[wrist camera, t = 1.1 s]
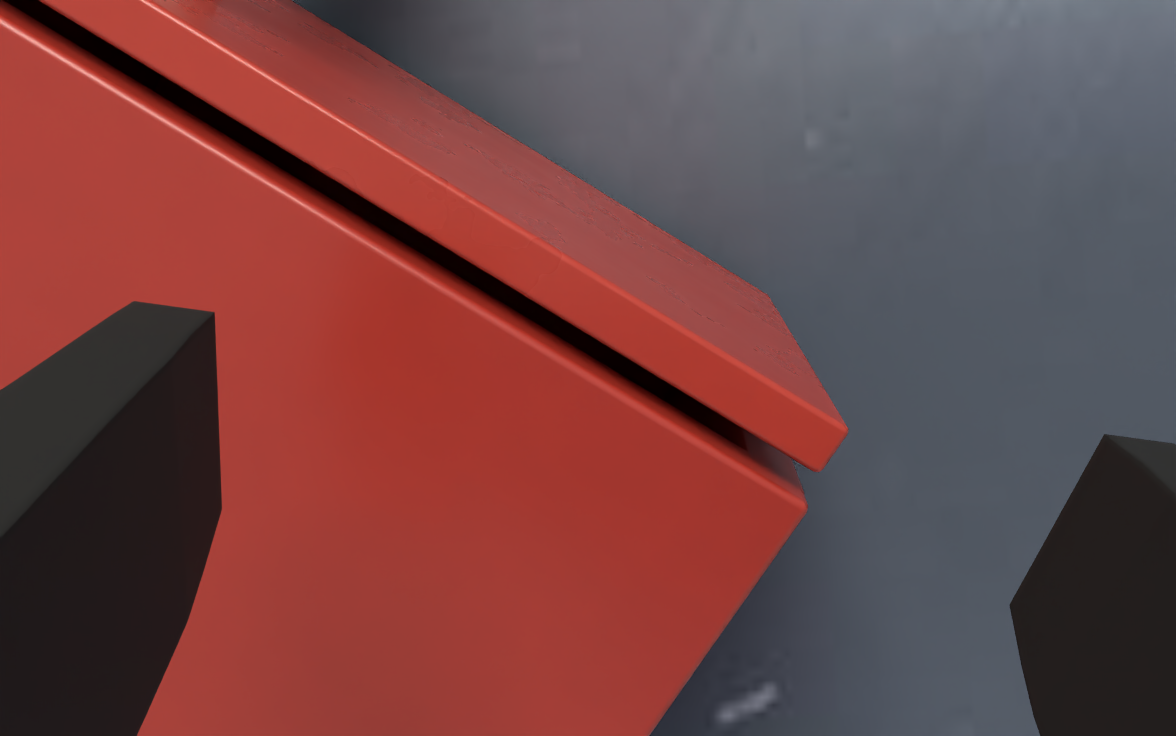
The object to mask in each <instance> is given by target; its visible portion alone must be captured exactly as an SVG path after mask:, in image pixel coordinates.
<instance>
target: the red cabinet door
mask: <svg viewBox="0 0 1176 736" xmlns="http://www.w3.org/2000/svg"><path fill="white" fill-rule="evenodd" d="M39 1H40V2H42V3H43V4H45V5H47V6H48V7H50V8H52V9H53V10H55V11H57V12H58V13H60V14H62V15H63V16H65V17H66V18H68V19H70V20H71V21H73V22H75V23H76V24H78V25H80V26H81V27H83V28H85V29H86V30H88V31H90V32H91V33H93V34H94V35H96V36H98V37H99V38H101V39H103V40H104V41H106V42H108V43H109V44H111V45H113V46H114V47H116V48H117V49H119V50H121V51H122V52H124V53H126V54H127V55H129V56H131V57H132V58H134V59H136V60H137V61H139V62H141V63H142V64H144V65H145V66H147V67H149V68H150V69H152V70H154V71H155V72H157V73H159V74H160V75H162V76H164V77H165V78H167V79H168V80H170V81H172V82H173V83H175V84H177V85H178V86H180V87H182V88H183V89H185V90H187V91H188V92H190V93H192V94H193V95H195V96H196V97H198V98H200V99H201V100H203V101H205V102H206V103H208V104H210V105H211V106H213V107H215V108H216V109H218V110H219V111H221V112H223V113H224V114H226V115H228V116H229V117H231V118H233V119H234V120H236V121H238V122H239V123H241V124H243V125H244V126H246V127H247V128H249V129H251V130H252V131H254V132H256V133H257V134H259V135H261V136H262V137H264V138H266V139H267V140H269V141H271V142H272V143H274V144H275V145H277V146H279V147H280V148H282V149H284V150H285V151H287V152H289V153H290V154H292V155H294V156H295V157H297V158H298V159H300V160H302V161H303V162H305V163H307V164H308V165H310V166H312V167H313V168H315V169H317V170H318V171H320V172H322V173H323V174H325V175H326V176H328V177H330V178H331V179H333V180H335V181H336V182H338V183H340V184H341V185H343V186H345V187H346V188H348V189H349V190H351V191H353V192H354V193H356V194H358V195H359V196H361V197H363V198H364V199H366V200H368V201H369V202H371V203H373V204H374V205H376V206H377V207H379V208H381V209H382V210H384V211H386V212H387V213H389V214H391V215H392V216H394V217H396V218H397V219H399V220H400V221H402V222H404V223H405V224H407V225H409V226H410V227H412V228H414V229H415V230H417V231H419V232H420V233H422V234H424V235H425V236H427V237H428V238H430V239H432V240H433V241H435V242H437V243H438V244H440V245H442V246H443V247H445V248H447V249H448V250H450V251H451V252H453V253H455V254H456V255H458V256H460V257H461V258H463V259H465V260H466V261H468V262H470V263H471V264H473V265H475V266H476V267H478V268H479V269H481V270H483V271H484V272H486V273H488V274H489V275H491V276H493V277H494V278H496V279H498V280H499V281H501V282H502V283H504V284H506V285H507V286H509V287H511V288H512V289H514V290H516V291H517V292H519V293H521V294H522V295H524V296H526V297H527V298H529V299H530V300H532V301H534V302H535V303H537V304H539V305H540V306H542V307H544V308H545V309H547V310H549V311H550V312H552V313H554V314H555V315H557V316H558V317H560V318H562V319H563V320H565V321H567V322H568V323H570V324H572V325H573V326H575V327H577V328H578V329H580V330H581V331H583V332H585V333H586V334H588V335H590V336H591V337H593V338H595V339H596V340H598V341H600V342H601V343H603V344H605V345H606V346H608V347H609V348H611V349H613V350H614V351H616V352H618V353H619V354H621V355H623V356H624V357H626V358H628V359H629V360H631V361H632V362H634V363H636V364H637V365H639V366H641V367H642V368H644V369H646V370H647V371H649V372H651V373H652V374H654V375H656V376H657V377H659V378H660V379H662V380H664V381H665V382H667V383H669V384H670V385H672V386H674V387H675V388H677V389H679V390H680V391H682V392H683V393H685V394H687V395H688V396H690V397H692V398H693V399H695V400H697V401H698V402H700V403H702V404H703V405H705V406H707V407H708V408H710V409H711V410H713V411H715V412H716V413H718V414H720V415H721V416H723V417H725V418H726V419H728V420H730V421H731V422H733V423H734V424H736V425H738V426H739V427H741V428H743V429H744V430H746V431H748V432H749V433H751V434H753V435H754V436H756V437H758V438H759V439H761V440H762V441H764V442H766V443H767V444H769V445H771V446H772V447H774V448H776V449H777V450H779V451H781V452H782V453H784V454H785V455H787V456H789V457H790V458H792V459H794V460H795V461H797V462H799V463H800V464H802V465H804V466H805V467H807V468H809V469H810V470H812V471H815V472H820V471H821V470H823V468H824V467H825V466H826V464H827V463H828V461H829V460H830V458H831V457H832V456H833V454H834V453H835V451H836V450H837V448H838V447H839V446H840V444H841V443H842V441H843V440H844V438H845V437H846V436H847V434H848V428H847V426H846V424H845V423H844V421H843V419H842V417H841V416H840V414H839V412H838V411H837V409H836V407H835V406H834V404H833V402H832V401H831V399H830V397H829V396H828V394H827V392H826V391H825V389H824V387H823V386H822V384H821V382H820V381H819V379H818V377H817V376H816V374H815V372H814V371H813V369H812V367H811V366H810V364H809V362H808V361H807V359H806V357H805V356H804V354H803V352H802V351H801V349H800V347H799V346H798V344H797V342H796V341H795V339H794V337H793V336H792V334H791V332H790V331H789V329H788V327H787V326H786V324H785V322H784V321H783V319H782V317H781V316H780V314H779V312H778V311H777V309H776V307H775V306H774V304H773V302H772V301H771V299H770V297H769V296H768V295H767V294H765V293H764V292H762V291H760V290H759V289H757V288H756V287H754V286H752V285H751V284H749V283H748V282H746V281H744V280H743V279H741V278H739V277H738V276H736V275H735V274H733V273H731V272H730V271H728V270H726V269H725V268H723V267H722V266H720V265H718V264H717V263H715V262H714V261H712V260H710V259H709V258H707V257H705V256H704V255H702V254H701V253H699V252H697V251H696V250H694V249H692V248H691V247H689V246H688V245H686V244H684V243H683V242H681V241H680V240H678V239H676V238H675V237H673V236H671V235H670V234H668V233H667V232H665V231H663V230H662V229H660V228H659V227H657V226H655V225H654V224H652V223H650V222H649V221H647V220H646V219H644V218H642V217H641V216H639V215H637V214H636V213H634V212H633V211H631V210H629V209H628V208H626V207H625V206H623V205H621V204H620V203H618V202H616V201H615V200H613V199H612V198H610V197H608V196H607V195H605V194H603V193H602V192H600V191H599V190H597V189H595V188H594V187H592V186H591V185H589V184H587V183H586V182H584V181H582V180H581V179H579V178H578V177H576V176H574V175H573V174H571V173H570V172H568V171H566V170H565V169H563V168H561V167H560V166H558V165H557V164H555V163H553V162H552V161H550V160H548V159H547V158H545V157H544V156H542V155H540V154H539V153H537V152H536V151H534V150H532V149H531V148H529V147H527V146H526V145H524V144H523V143H521V142H519V141H518V140H516V139H514V138H513V137H511V136H510V135H508V134H506V133H505V132H503V131H502V130H500V129H498V128H497V127H495V126H493V125H492V124H490V123H489V122H487V121H485V120H484V119H482V118H481V117H479V116H477V115H476V114H474V113H472V112H471V111H469V110H468V109H466V108H464V107H463V106H461V105H459V104H458V103H456V102H455V101H453V100H451V99H450V98H448V97H447V96H445V95H443V94H442V93H440V92H438V91H437V90H435V89H434V88H432V87H430V86H429V85H427V84H425V83H424V82H422V81H421V80H419V79H417V78H416V77H414V76H413V75H411V74H409V73H408V72H406V71H404V70H403V69H401V68H400V67H398V66H396V65H395V64H393V63H392V62H390V61H388V60H387V59H385V58H383V57H382V56H380V55H379V54H377V53H375V52H374V51H372V50H370V49H369V48H367V47H366V46H364V45H362V44H361V43H359V42H358V41H356V40H354V39H353V38H351V37H349V36H348V35H346V34H345V33H343V32H341V31H340V30H338V29H336V28H335V27H333V26H332V25H330V24H328V23H327V22H325V21H324V20H322V19H320V18H319V17H317V16H315V15H314V14H312V13H311V12H309V11H307V10H306V9H304V8H303V7H301V6H299V5H298V4H296V3H294V2H293V1H291V0H39Z"/></svg>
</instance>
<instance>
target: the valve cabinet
mask: <svg viewBox="0 0 1176 736" xmlns="http://www.w3.org/2000/svg"><path fill="white" fill-rule="evenodd" d="M133 301H138V302H145V303H153V304H160V305H167V306H175V307H182V308H189V309H196V310H204V311H211V312H215V332H216V359H217V385H218V412H219V439H220V466H221V493H222V511H221V514H220V518H219V521H218V525H217V528H216V531H215V535H214V538H213V542H212V545H211V548H210V552H209V555H208V558H207V562H206V565H205V569H204V572H203V575H202V578H201V581H200V584H199V588H198V591H197V594H196V597H195V600H194V603H193V606H192V610H191V613H190V616H189V619H188V622H187V624H186V627H185V629H184V631H183V633H182V636H181V638H180V640H179V643H178V645H177V647H176V649H175V652H174V654H173V656H172V658H171V661H170V663H169V665H168V667H167V670H166V672H165V674H164V676H163V679H162V681H161V683H160V685H159V688H158V690H157V692H156V694H155V697H154V699H153V701H152V703H151V706H150V708H149V710H148V712H147V715H146V717H145V719H144V721H143V723H142V726H141V728H140V730H139V732H138V734H137V736H650V734H651V733H652V731H653V730H654V728H655V727H656V726H657V724H658V723H659V721H660V720H661V719H662V717H663V716H664V714H665V713H666V711H667V710H668V709H669V707H670V706H671V704H672V703H673V701H674V700H675V699H676V697H677V696H678V694H679V693H680V692H681V690H682V689H683V687H684V686H685V684H686V683H687V682H688V680H689V679H690V677H691V676H692V674H693V673H694V672H695V670H696V669H697V667H698V666H699V665H700V663H701V662H702V660H703V659H704V657H705V656H706V655H707V653H708V652H709V650H710V649H711V648H712V646H713V645H714V643H715V642H716V640H717V639H718V638H719V636H720V635H721V633H722V632H723V630H724V629H725V628H726V626H727V625H728V623H729V622H730V621H731V619H732V618H733V616H734V615H735V613H736V612H737V611H738V609H739V608H740V606H741V605H742V603H743V602H744V601H745V599H746V598H747V596H748V595H749V594H750V592H751V591H752V589H753V588H754V586H755V585H756V584H757V582H758V581H759V579H760V578H761V577H762V575H763V574H764V572H765V571H766V569H767V568H768V567H769V565H770V564H771V562H772V561H773V559H774V558H775V557H776V555H777V554H778V552H779V551H780V550H781V548H782V547H783V545H784V544H785V542H786V541H787V540H788V538H789V537H790V535H791V534H792V532H793V531H794V530H795V528H796V527H797V525H798V524H799V523H800V521H801V520H802V518H803V517H804V515H805V514H806V513H807V508H808V504H807V502H806V499H805V496H804V494H805V493H804V491H803V488H802V485H801V483H800V480H799V478H798V475H797V472H796V470H795V467H794V465H793V462H792V459H791V458H790V457H789V456H787V455H785V454H784V453H782V452H781V451H779V450H777V449H776V448H774V447H772V446H771V445H769V444H767V443H766V442H764V441H762V440H761V439H759V438H758V437H756V436H754V435H753V434H751V433H749V432H748V431H746V430H744V429H743V428H741V427H739V426H738V425H736V424H734V423H733V422H731V421H730V420H728V419H726V418H725V417H723V416H721V415H720V414H718V413H716V412H715V411H713V410H711V409H710V408H708V407H707V406H705V405H703V404H702V403H700V402H698V401H697V400H695V399H693V398H692V397H690V396H688V395H687V394H685V393H683V392H682V391H680V390H679V389H677V388H675V387H674V386H672V385H670V384H669V383H667V382H665V381H664V380H662V379H660V378H659V377H657V376H656V375H654V374H652V373H651V372H649V371H647V370H646V369H644V368H642V367H641V366H639V365H637V364H636V363H634V362H632V361H631V360H629V359H628V358H626V357H624V356H623V355H621V354H619V353H618V352H616V351H614V350H613V349H611V348H609V347H608V346H606V345H605V344H603V343H601V342H600V341H598V340H596V339H595V338H593V337H591V336H590V335H588V334H586V333H585V332H583V331H581V330H580V329H578V328H577V327H575V326H573V325H572V324H570V323H568V322H567V321H565V320H563V319H562V318H560V317H558V316H557V315H555V314H554V313H552V312H550V311H549V310H547V309H545V308H544V307H542V306H540V305H539V304H537V303H535V302H534V301H532V300H530V299H529V298H527V297H526V296H524V295H522V294H521V293H519V292H517V291H516V290H514V289H512V288H511V287H509V286H507V285H506V284H504V283H502V282H501V281H499V280H498V279H496V278H494V277H493V276H491V275H489V274H488V273H486V272H484V271H483V270H481V269H479V268H478V267H476V266H475V265H473V264H471V263H470V262H468V261H466V260H465V259H463V258H461V257H460V256H458V255H456V254H455V253H453V252H451V251H450V250H448V249H447V248H445V247H443V246H442V245H440V244H438V243H437V242H435V241H433V240H432V239H430V238H428V237H427V236H425V235H424V234H422V233H420V232H419V231H417V230H415V229H414V228H412V227H410V226H409V225H407V224H405V223H404V222H402V221H400V220H399V219H397V218H396V217H394V216H392V215H391V214H389V213H387V212H386V211H384V210H382V209H381V208H379V207H377V206H376V205H374V204H373V203H371V202H369V201H368V200H366V199H364V198H363V197H361V196H359V195H358V194H356V193H354V192H353V191H351V190H349V189H348V188H346V187H345V186H343V185H341V184H340V183H338V182H336V181H335V180H333V179H331V178H330V177H328V176H326V175H325V174H323V173H322V172H320V171H318V170H317V169H315V168H313V167H312V166H310V165H308V164H307V163H305V162H303V161H302V160H300V159H298V158H297V157H295V156H294V155H292V154H290V153H289V152H287V151H285V150H284V149H282V148H280V147H279V146H277V145H275V144H274V143H272V142H271V141H269V140H267V139H266V138H264V137H262V136H261V135H259V134H257V133H256V132H254V131H252V130H251V129H249V128H247V127H246V126H244V125H243V124H241V123H239V122H238V121H236V120H234V119H233V118H231V117H229V116H228V115H226V114H224V113H223V112H221V111H219V110H218V109H216V108H215V107H213V106H211V105H210V104H208V103H206V102H205V101H203V100H201V99H200V98H198V97H196V96H195V95H193V94H192V93H190V92H188V91H187V90H185V89H183V88H182V87H180V86H178V85H177V84H175V83H173V82H172V81H170V80H168V79H167V78H165V77H164V76H162V75H160V74H159V73H157V72H155V71H154V70H152V69H150V68H149V67H147V66H145V65H144V64H142V63H141V62H139V61H137V60H136V59H134V58H132V57H131V56H129V55H127V54H126V53H124V52H122V51H121V50H119V49H117V48H116V47H114V46H113V45H111V44H109V43H108V42H106V41H104V40H103V39H101V38H99V37H98V36H96V35H94V34H93V33H91V32H90V31H88V30H86V29H85V28H83V27H81V26H80V25H78V24H76V23H75V22H73V21H71V20H70V19H68V18H66V17H65V16H63V15H62V14H60V13H58V12H57V11H55V10H53V9H52V8H50V7H48V6H47V5H45V4H43V3H42V2H40V1H39V0H0V390H1V389H3V388H4V387H6V386H7V385H9V384H10V383H12V382H13V381H15V380H16V379H18V378H19V377H21V376H22V375H24V374H25V373H27V372H28V371H30V370H31V369H33V368H34V367H35V366H37V365H38V364H40V363H41V362H43V361H44V360H46V359H47V358H49V357H50V356H52V355H53V354H55V353H56V352H57V351H59V350H60V349H62V348H63V347H65V346H66V345H68V344H69V343H71V342H72V341H74V340H75V339H77V338H78V337H79V336H81V335H82V334H84V333H85V332H87V331H88V330H90V329H91V328H93V327H94V326H96V325H97V324H99V323H100V322H102V321H103V320H105V319H106V318H108V317H109V316H111V315H112V314H114V313H115V312H117V311H118V310H120V309H122V308H123V307H125V306H126V305H128V304H130V303H131V302H133Z"/></svg>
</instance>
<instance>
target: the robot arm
mask: <svg viewBox="0 0 1176 736" xmlns="http://www.w3.org/2000/svg"><path fill="white" fill-rule="evenodd" d="M221 511H222V493H221V466H220V439H219V412H218V385H217V359H216V332H215V312H211V311H204V310H196V309H189V308H182V307H175V306H167V305H160V304H153V303H145V302H138V301H133V302H131V303H130V304H128V305H126V306H125V307H123V308H122V309H120V310H118V311H117V312H115V313H114V314H112V315H111V316H109V317H108V318H106V319H105V320H103V321H102V322H100V323H99V324H97V325H96V326H94V327H93V328H91V329H90V330H88V331H87V332H85V333H84V334H82V335H81V336H79V337H78V338H77V339H75V340H74V341H72V342H71V343H69V344H68V345H66V346H65V347H63V348H62V349H60V350H59V351H57V352H56V353H55V354H53V355H52V356H50V357H49V358H47V359H46V360H44V361H43V362H41V363H40V364H38V365H37V366H35V367H34V368H33V369H31V370H30V371H28V372H27V373H25V374H24V375H22V376H21V377H19V378H18V379H16V380H15V381H13V382H12V383H10V384H9V385H7V386H6V387H4V388H3V389H1V390H0V736H137V734H138V732H139V730H140V728H141V726H142V723H143V721H144V719H145V717H146V715H147V712H148V710H149V708H150V706H151V703H152V701H153V699H154V697H155V694H156V692H157V690H158V688H159V685H160V683H161V681H162V679H163V676H164V674H165V672H166V670H167V667H168V665H169V663H170V661H171V658H172V656H173V654H174V652H175V649H176V647H177V645H178V643H179V640H180V638H181V636H182V633H183V631H184V629H185V627H186V624H187V622H188V619H189V616H190V613H191V610H192V606H193V603H194V600H195V597H196V594H197V591H198V588H199V584H200V581H201V578H202V575H203V572H204V569H205V565H206V562H207V558H208V555H209V552H210V548H211V545H212V542H213V538H214V535H215V531H216V528H217V525H218V521H219V518H220V514H221ZM1010 609H1011V614H1012V619H1013V625H1014V630H1015V635H1016V640H1017V645H1018V650H1019V655H1020V660H1021V665H1022V669H1023V674H1024V678H1025V682H1026V686H1027V690H1028V694H1029V699H1030V703H1031V707H1032V711H1033V715H1034V718H1035V721H1036V724H1037V727H1038V730H1039V733H1040V736H1176V445H1175V444H1172V443H1165V442H1158V441H1150V440H1143V439H1136V438H1129V437H1121V436H1114V435H1107V434H1104V436H1103V438H1102V439H1101V441H1100V443H1099V445H1098V447H1097V448H1096V450H1095V452H1094V454H1093V456H1092V457H1091V459H1090V461H1089V463H1088V465H1087V466H1086V468H1085V470H1084V472H1083V474H1082V475H1081V477H1080V479H1079V481H1078V483H1077V484H1076V486H1075V488H1074V490H1073V492H1072V493H1071V495H1070V497H1069V499H1068V501H1067V502H1066V504H1065V506H1064V508H1063V510H1062V511H1061V513H1060V515H1059V517H1058V519H1057V521H1056V522H1055V524H1054V526H1053V528H1052V530H1051V531H1050V533H1049V535H1048V537H1047V539H1046V540H1045V542H1044V544H1043V546H1042V548H1041V549H1040V551H1039V553H1038V555H1037V557H1036V558H1035V560H1034V562H1033V564H1032V566H1031V567H1030V569H1029V571H1028V573H1027V575H1026V576H1025V578H1024V580H1023V582H1022V584H1021V585H1020V587H1019V589H1018V591H1017V593H1016V594H1015V596H1014V598H1013V600H1012V602H1011V603H1010Z"/></svg>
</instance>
